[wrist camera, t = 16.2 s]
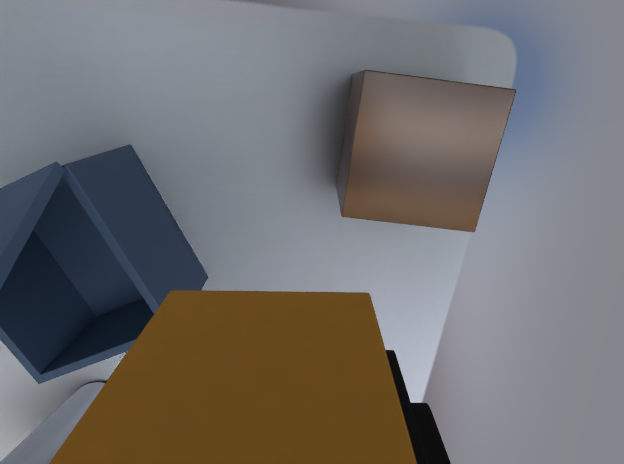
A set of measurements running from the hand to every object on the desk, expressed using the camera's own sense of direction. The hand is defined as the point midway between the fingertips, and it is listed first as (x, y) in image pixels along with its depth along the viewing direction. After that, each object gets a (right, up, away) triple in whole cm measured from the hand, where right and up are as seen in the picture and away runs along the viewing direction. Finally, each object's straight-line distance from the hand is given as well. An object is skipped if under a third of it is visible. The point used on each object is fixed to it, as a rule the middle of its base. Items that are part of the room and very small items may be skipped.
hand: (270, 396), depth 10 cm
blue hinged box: (-17, +4, +24) cm, 30 cm away
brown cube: (+8, +12, +21) cm, 25 cm away
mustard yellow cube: (0, 0, 0) cm, 0 cm away
